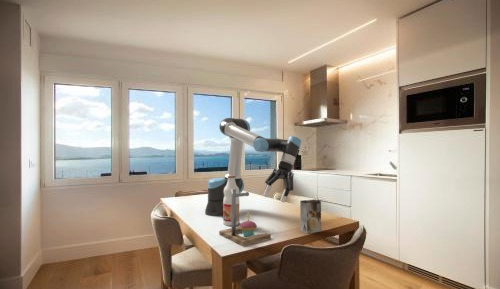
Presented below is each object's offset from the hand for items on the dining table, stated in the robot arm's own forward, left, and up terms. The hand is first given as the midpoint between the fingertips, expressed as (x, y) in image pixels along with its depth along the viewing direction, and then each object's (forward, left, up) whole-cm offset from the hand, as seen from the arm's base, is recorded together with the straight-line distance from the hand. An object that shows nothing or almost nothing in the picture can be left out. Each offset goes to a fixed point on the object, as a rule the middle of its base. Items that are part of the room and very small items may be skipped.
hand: (273, 199), depth 147 cm
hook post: (0, -22, -14) cm, 26 cm away
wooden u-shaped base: (0, -20, -16) cm, 25 cm away
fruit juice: (-23, -12, -17) cm, 31 cm away
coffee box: (+14, +14, -17) cm, 26 cm away
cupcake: (0, -17, -17) cm, 24 cm away
